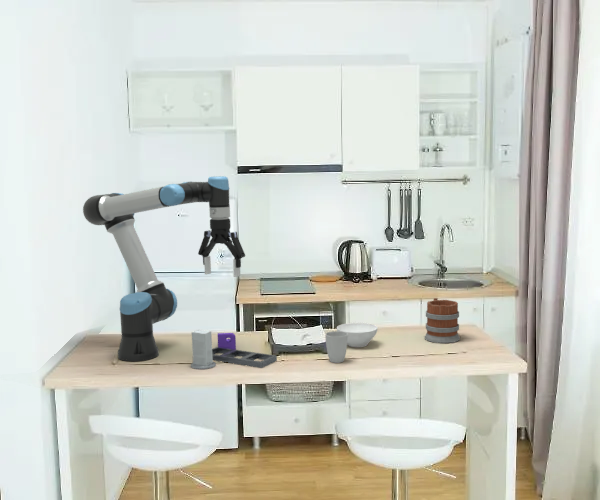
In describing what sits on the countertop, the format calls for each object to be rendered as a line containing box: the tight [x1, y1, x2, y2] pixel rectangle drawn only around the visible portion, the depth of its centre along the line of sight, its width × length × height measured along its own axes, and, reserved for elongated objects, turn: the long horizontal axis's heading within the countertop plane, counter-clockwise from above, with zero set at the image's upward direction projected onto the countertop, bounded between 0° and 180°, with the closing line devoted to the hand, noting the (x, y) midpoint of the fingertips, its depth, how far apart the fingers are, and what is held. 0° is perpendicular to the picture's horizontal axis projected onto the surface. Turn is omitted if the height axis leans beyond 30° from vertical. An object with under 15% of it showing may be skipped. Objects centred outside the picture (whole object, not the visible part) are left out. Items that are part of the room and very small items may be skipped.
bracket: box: [217, 332, 237, 350], centre depth 300 cm, size 12×7×7 cm, turn 5°
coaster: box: [190, 361, 217, 370], centre depth 275 cm, size 9×9×1 cm
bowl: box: [336, 322, 379, 348], centre depth 298 cm, size 16×16×7 cm
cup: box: [324, 330, 348, 364], centre depth 277 cm, size 8×8×10 cm
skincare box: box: [191, 329, 214, 366], centre depth 274 cm, size 6×4×12 cm
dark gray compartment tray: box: [212, 346, 278, 369], centre depth 281 cm, size 27×10×2 cm, turn 60°
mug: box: [424, 297, 461, 344], centre depth 307 cm, size 14×19×15 cm
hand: (222, 275), depth 285 cm, fingers open, 13 cm apart
